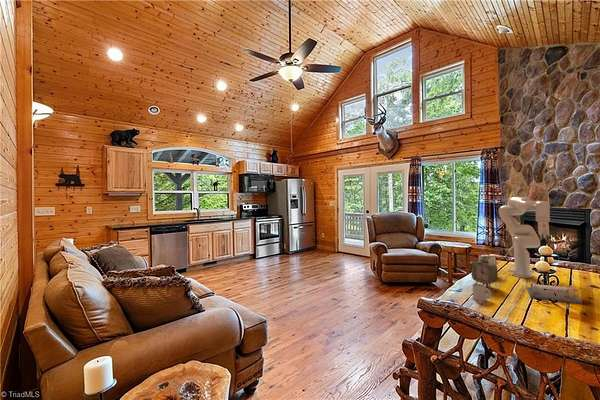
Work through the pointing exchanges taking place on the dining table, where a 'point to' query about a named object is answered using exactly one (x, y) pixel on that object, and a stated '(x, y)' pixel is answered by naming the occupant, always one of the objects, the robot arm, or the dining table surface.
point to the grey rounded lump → (480, 292)
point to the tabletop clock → (484, 271)
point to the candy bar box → (489, 258)
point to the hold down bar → (555, 287)
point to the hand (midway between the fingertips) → (543, 245)
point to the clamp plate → (549, 294)
